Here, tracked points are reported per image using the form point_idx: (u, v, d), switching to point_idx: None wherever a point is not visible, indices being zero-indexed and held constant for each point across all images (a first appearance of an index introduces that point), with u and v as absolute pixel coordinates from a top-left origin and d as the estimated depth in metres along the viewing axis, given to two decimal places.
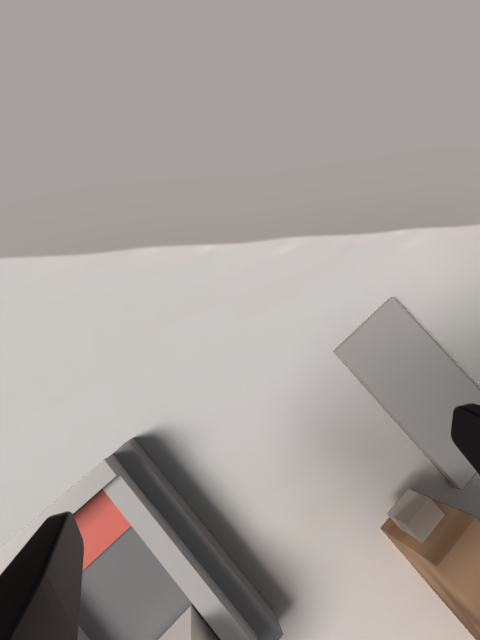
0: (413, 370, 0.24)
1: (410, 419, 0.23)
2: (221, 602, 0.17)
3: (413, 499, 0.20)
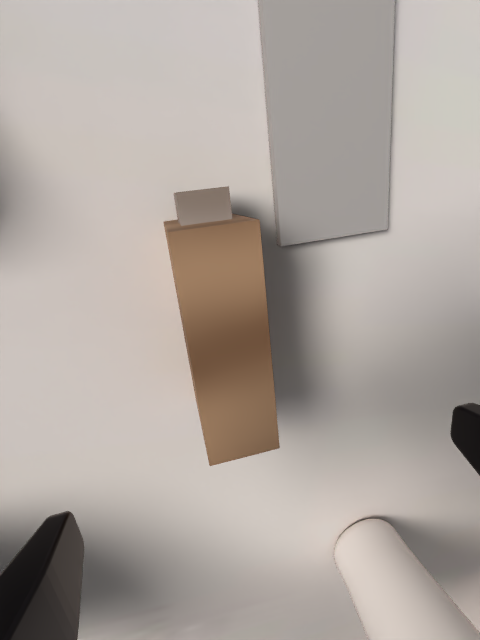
0: (338, 68, 0.16)
1: (285, 125, 0.16)
2: None
3: None
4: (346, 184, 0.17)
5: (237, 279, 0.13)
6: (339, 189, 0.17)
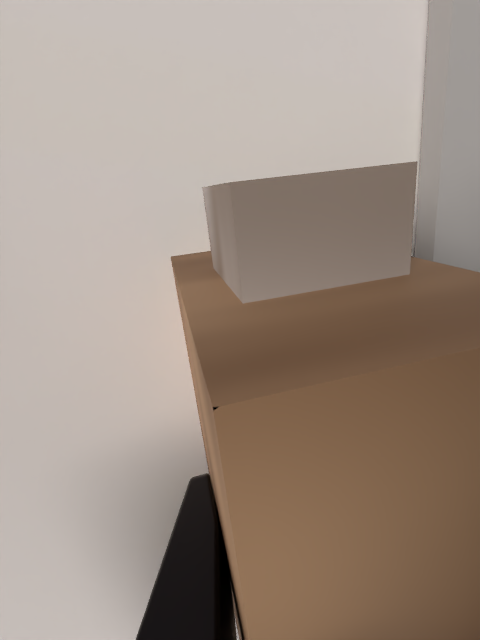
0: None
1: None
2: None
3: None
4: None
5: None
6: None
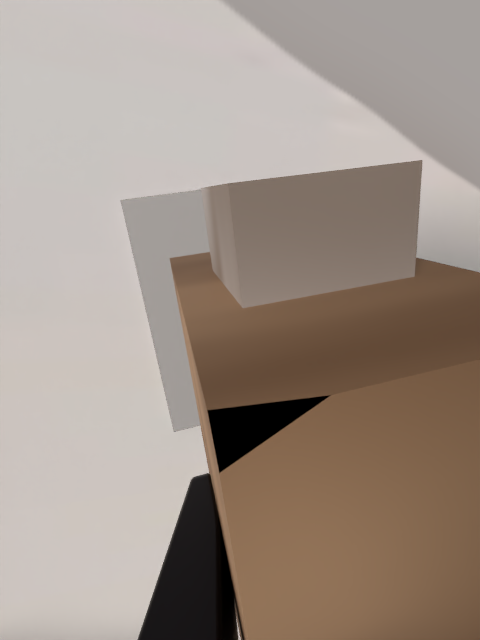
0: None
1: (166, 340, 0.17)
2: None
3: None
4: None
5: None
6: None
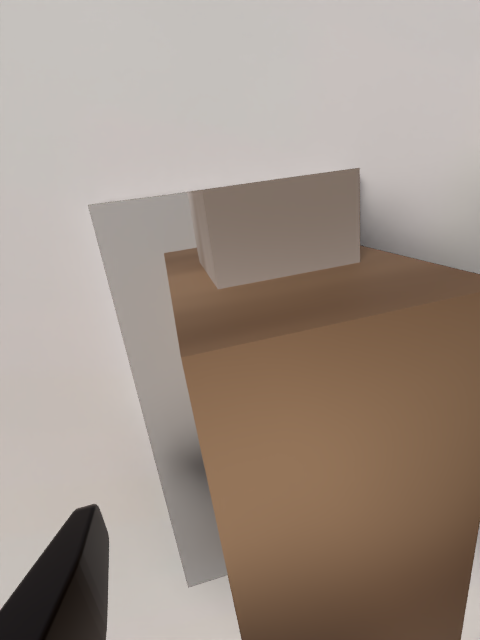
0: None
1: (177, 453, 0.10)
2: None
3: None
4: None
5: (411, 475, 0.04)
6: None
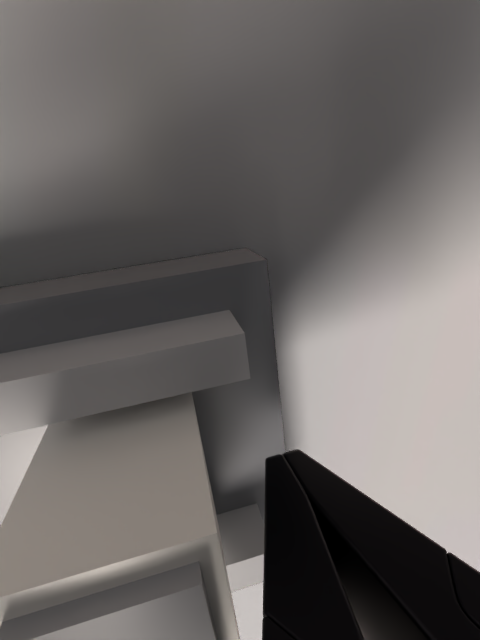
0: None
1: None
2: (81, 364, 0.06)
3: None
4: None
5: None
6: None
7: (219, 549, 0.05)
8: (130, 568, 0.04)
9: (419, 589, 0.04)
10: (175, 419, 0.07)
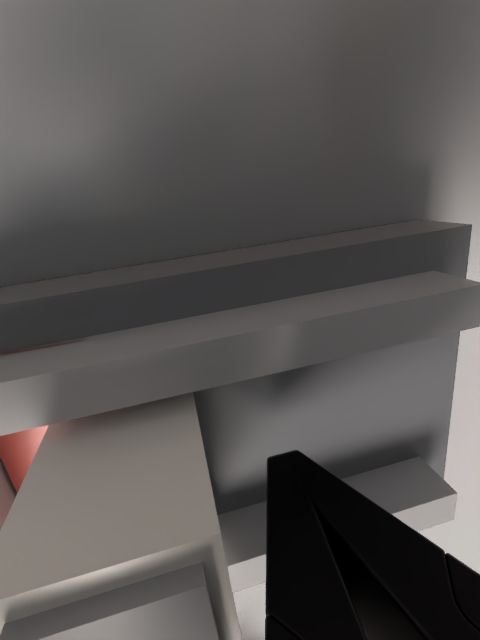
0: None
1: None
2: (356, 308, 0.07)
3: None
4: None
5: None
6: None
7: (222, 550, 0.05)
8: (133, 570, 0.04)
9: (418, 590, 0.04)
10: (177, 419, 0.07)
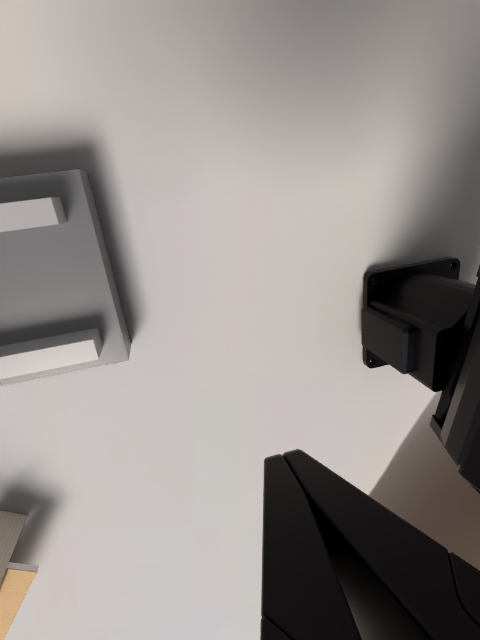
0: None
1: None
2: None
3: None
4: None
5: None
6: None
7: None
8: None
9: (420, 588, 0.04)
10: None
